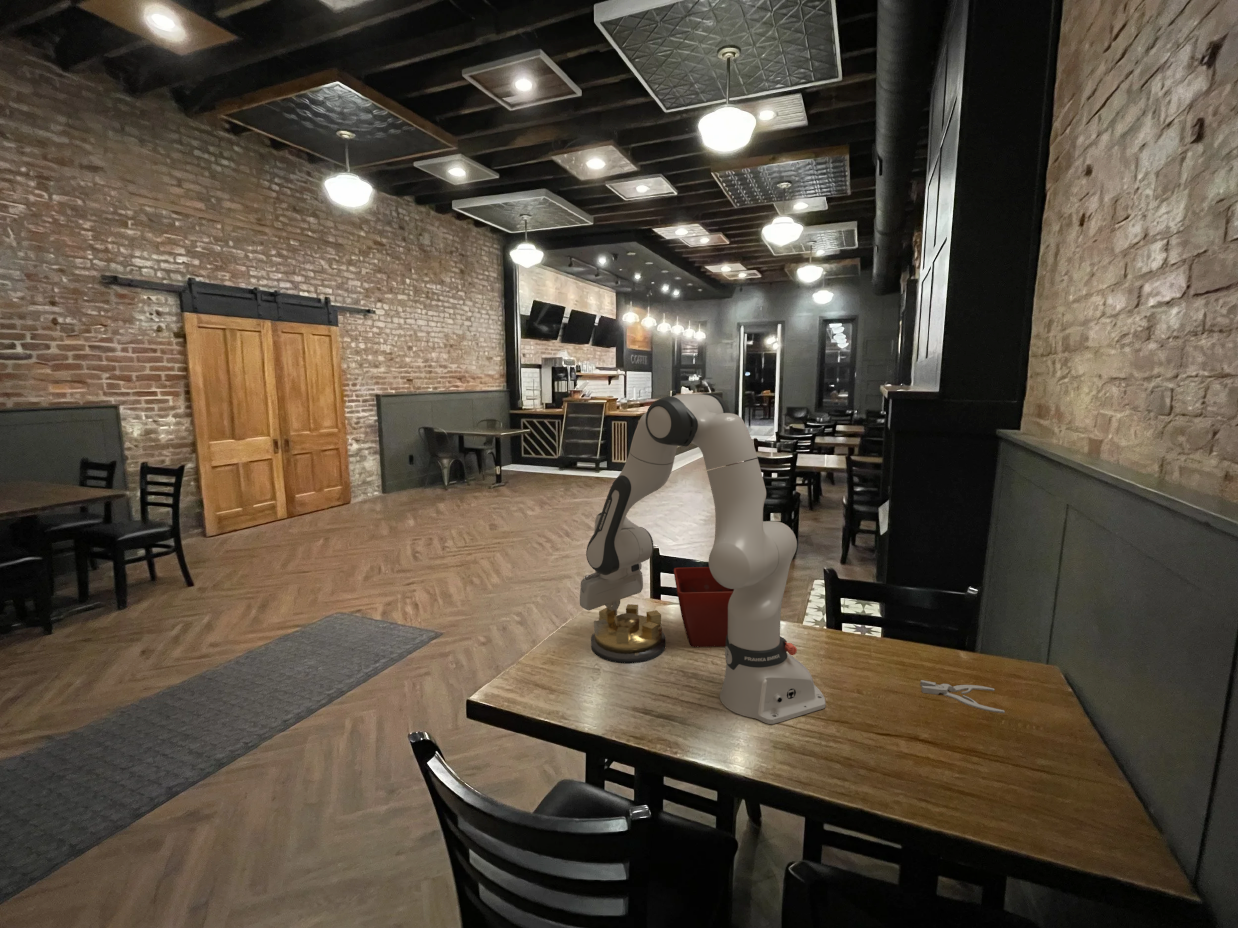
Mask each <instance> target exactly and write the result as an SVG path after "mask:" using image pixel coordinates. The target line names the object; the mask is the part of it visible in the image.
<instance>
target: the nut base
mask: <svg viewBox="0 0 1238 928" xmlns="http://www.w3.org/2000/svg"><path fill="white" fill-rule="evenodd" d="M666 638H667V637H666V635H665V632H664V631H662V640H661V642H660V643H659V644H658V645H657V646H656V647H654V648H652V649H650V650H647V651H643V652H638V653H617V652H612V651H608V650H605V649H603V648H601V647H600V646H599V645H597V643H596V642H595V632H594V631H593V634H592V635H591V638H590V649H591V650H592V653H593V654H594V655H595V656H597V657H598V658H600V659H602V660H605V661H607V662H611V663H616V664H617V663H618V664H637V663H638V664H639V663H644V662H648V661H651V660H654V659H656V658H657V657H659V656H660V655H662V654H663V653H664V652H665V650H666V648H667V647H666V646H667V644H666V643H667V642H666V640H667V639H666ZM665 647H666V648H665Z"/></svg>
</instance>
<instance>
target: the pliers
mask: <svg viewBox="0 0 1238 928" xmlns="http://www.w3.org/2000/svg"><path fill="white" fill-rule="evenodd" d="M919 685H920V687H921V693H922V694H923V693H924V694H929V695H939V694H941V695H943V696H944V697H948V698H951V699H954V700H956V701H958V702H960V703H961V704H964V705H966V706H969V707H972V708H975V709H979V710H983V711H987V712H992V713H1000V714H1006V713H1005V712H1006V711H1005V710H1004V709H999V708H995V707H990V706H987V705H983V704H979V703H978V702H977V701H975V700H974V699H972V698H971V697H969V696H967V695H964V694H969V693H970V692H971V691H973V690H980V691H989V692H990V691H991V692H995V688H993V687H989V686H983V685H974V684H960V685H958V684H957V685H955V686H952V685H951V684H949V683H941V684H937V682H935V681H934V682H933V681H929V680H923V679H920V684H919ZM951 692H952V693H951ZM953 692H955V693H957V692H960V693H961V694H962V696H960V695H957V694H955V693H953Z"/></svg>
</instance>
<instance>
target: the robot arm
mask: <svg viewBox="0 0 1238 928" xmlns="http://www.w3.org/2000/svg"><path fill="white" fill-rule="evenodd" d="M632 436H633V437H632V440H631V444H630V449H629V452H628V456H627V460H626V462H625V464H624V466H623V468H622V469H621V472H620V473H619V475H617V477H616V479H614V481H613V482H612V484H611V486H610V488H609V491H608V493H607V497H606V499H605V503H604V505H603V507H602V510H601V512H600V513H597V514H596V517H595V520H594V527H593V528H594V529H593V531H594V532H593V534H592V536H591V537H590V539H589V541H588V544H587V547H586V550H585V551H586V552H585V553H586V554H585V555H586V560H587V561H586V562H587V563H588V564H589V566H590V568H592V569H593V570H594V571H595V572H594V573H591V574H586V575H585V576H584V577H583V578H582V579H581V580H580V590H579V591H580V592H579V606H580V607H581V608H583V609H584V610H587V611H592V610H595V609H598V608H601V607H603V606H605V608H607V609H609V610H611V611H612V610H614V614H615V616H617V615H618V609H619V607H620V605H621V600H624V599H626V598H629V597H632V596H635V595H637V594H640V593H642V591H643V590H644V577H643V571H642V568H643V567H642V563H644V562H646V561H648V560H650V558H652V555H653V553H654V540H653V537H652V534H650V532H649V531H648V530H647V529H646V528H645V527H643V526H638V525H637V524H635V523H634V522H632V521H631V520H630V519H629V518H627V515H628V513H629V511H630V510H631V509H632V507H633V506H634V505H635V504H636V503H638V502H639V501H640V500H642V499H644V498H645V497H647V496H649V495H650V494H653V493H655V492H657V491H658V490H660V489H661V488H663V486H665V485H666V483H667V481H668V480H669V478H670V476H671V474H672V472H673V471H672V470H673V467H674V464H675V463H674V462H675V459H676V452H677V449H678V447H686V448H687V447H689V446H690V445H691V444H692V445H694V446H696V447H697V448H699V450H700V451H701V454H702V457H703V461H704V465H705V470H706V474H707V478H708V481H709V486H710V490H711V495H712V499H713V504H714V514H715V516H714V517H715V522H714V523H715V524H714V525H715V527H714V528H715V533H714V541H713V544H712V548H711V550H710V552H709V556H708V567H709V568H710V571H711V574H712V576H713V577H714V579H715V580H716V581H717V582H718V583H719V584H721V585H722V586H724V587H726V588H729V589H734V591H733V593H732V595H731V597H730V599H729V603H728V634H727V636H726V647H724V657H725V663H726V665H725V674H724V679H723V683H722V686H721V690H720V693H719V700H720V702H721V703H722V704H723V706H724V707H725V708H727V709H728V710H729V711H731V712H733V713H735V714H737V715H740V716H744V717H748V718H753V719H756V720H758V721H760V722H763V723H765V724H769V725H775V724H778V723H781V722H784V721H789V720H790V719H793V718H797V717H800V716H804V715H806V714H811V713H814V712H818V711H820V710H822V709H825V708H826V698H825V696H824V694H823V693H822V691H821V690H820V689H819V688H818V687H817V686H816V685H815V683H814V679H813V677H812V674H811V672H810V671H809V669H808V668H807V667H806V666H805V665H804V664H803V663H802V662H801V661H799V660H798V659H796V658H795V657H794V656H795V655H796V653H798V652H797V651H798V648H797V647H796V645H794V644H793V642H792V643H791V642H788V641H787V640H786V639H785V638H784V637H782V636H781V617H782V615H781V613H782V604H783V598H784V593H785V589H786V587H787V586H786V585H787V582H788V580H787V579H788V577H789V576H788V575H789V572H790V566H791V562H792V560H793V559H794V556H795V553H797V552H796V551H797V549H798V548H797V547H798V541H797V538H796V534H795V533H794V531H793V529H791V527H789V525H787V524H785V523H783V522H781V521H777V520H776V521H775V520H768V521H767V520H766V521H764V506H765V502H766V498H767V489H766V486H765V481H764V477H763V472H762V470H761V465H760V462H759V458H758V457H759V456H758V454H757V451H756V448H755V444H754V442H753V439H752V437H751V434H750V432H749V429H748V427H747V425H746V424H745V421H744V420H743V418H742V417H741V416H740V415H738V414H736V413H733V412H731V410H730V407H729V405H728V403H727V402H726V400H724V398H722V397H720V396H719V395H716V394H712V393H707V392H706V393H681V394H675V395H673V396H669V395H667V396H664V397H661V398H658V399H657V400H655V401H653V402H652V403H651V404H650V405H649V406H648V409H647V411H646V412H645V413H644V414H642V415H641V417H640V419H639V421H638V422H637V425H636V429H635V430H634V434H633V435H632Z"/></svg>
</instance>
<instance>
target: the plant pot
mask: <svg viewBox="0 0 1238 928" xmlns="http://www.w3.org/2000/svg"><path fill="white" fill-rule="evenodd" d="M673 575H674V581H675V588H676V594H677V599H678V604H679V609H680V614H681V618H682V619H681V620H682V624H683V629H684V631H685V635H686V638H687V641H688V644H689V646H690V647H691V648H722V647H723V648H725V647H726V636H727V634H728V603H729V599H730V597H731V595H732V593H733V591H734V589H729V588H726V587H724V586H722V585H721V584H719V583H718V582H717V581H716V580H715V579H714V577H713V576H712V574H711V571H710V568H709V566H704V567H703V566H699V567H698V566H695V567H694V566H693V567H689V566H687V567H674V568H673Z"/></svg>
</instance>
